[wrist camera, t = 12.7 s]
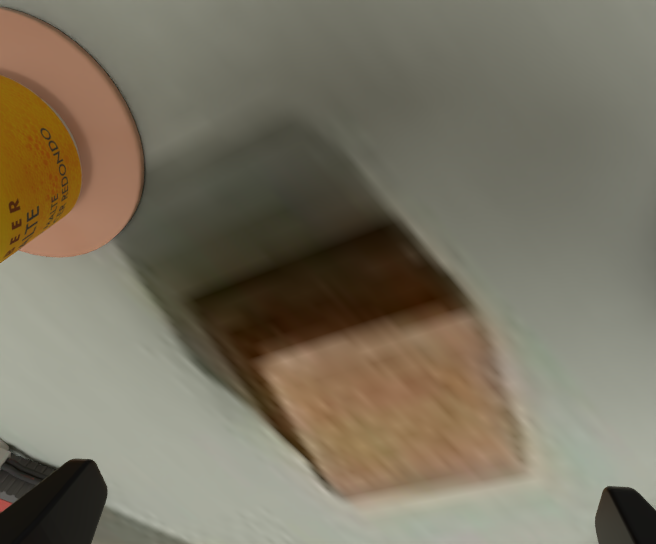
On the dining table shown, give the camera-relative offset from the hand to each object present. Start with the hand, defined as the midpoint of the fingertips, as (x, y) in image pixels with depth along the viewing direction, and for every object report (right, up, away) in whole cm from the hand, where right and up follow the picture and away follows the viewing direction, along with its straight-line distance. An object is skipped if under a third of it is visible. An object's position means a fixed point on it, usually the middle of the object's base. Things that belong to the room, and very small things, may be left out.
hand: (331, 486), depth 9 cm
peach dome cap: (-12, +9, +12) cm, 19 cm away
